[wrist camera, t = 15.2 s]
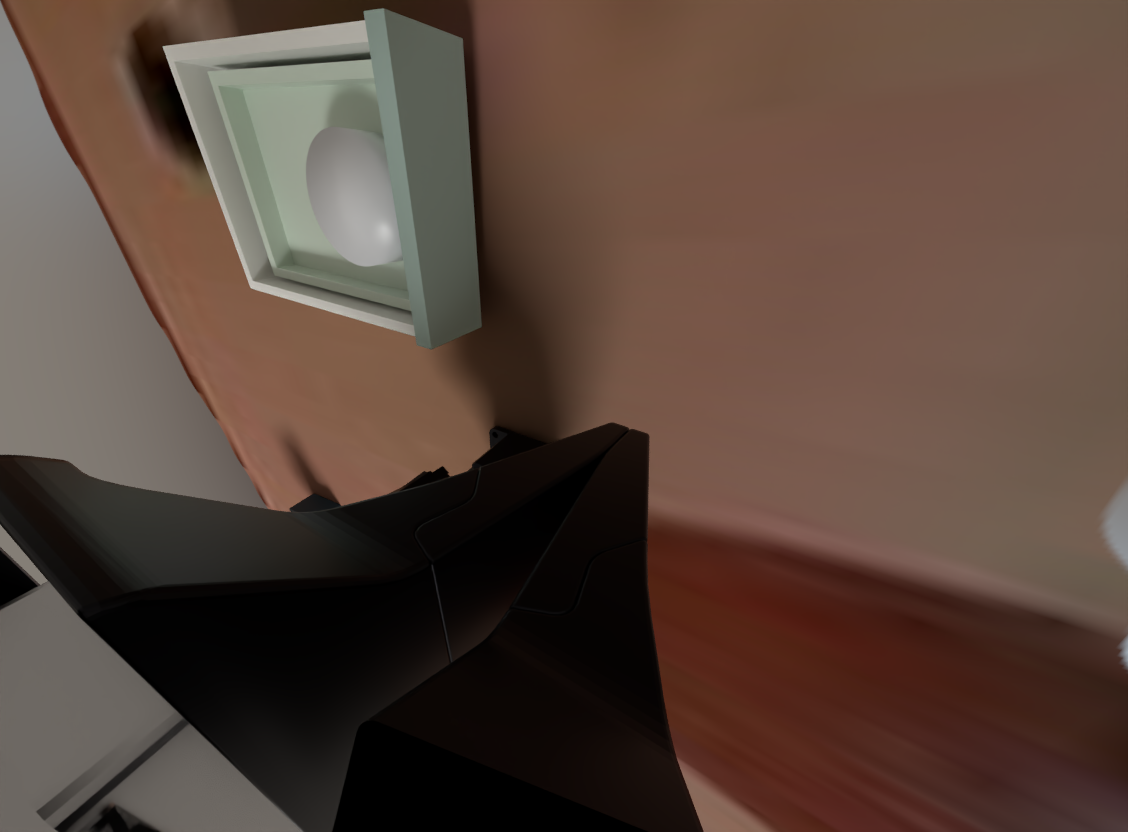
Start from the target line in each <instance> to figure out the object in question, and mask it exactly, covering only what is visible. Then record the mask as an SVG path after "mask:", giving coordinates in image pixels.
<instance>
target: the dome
mask: <svg viewBox="0 0 1128 832" xmlns="http://www.w3.org/2000/svg"><path fill="white" fill-rule="evenodd" d="M306 181H307V189H308V194H309V198H310V202H311V206H312V209H313V212H314V214H315V217H316V219H317V221H318V224H319V226H320V228H321V229H322V231H323V233H324V235H325V236H326V238H327V239H328V241H329V242H330V243H331V245H332V246H333V247H334V248H335V249H336V251H337V252H338V253H339V254H341V255H342V256H343V257H344V258H345V259H347V260H348V261H350V262H352V263H354V264H356V265H359V266H364V267H365V266H375V265H380V264H386V263H392V262H398V261H403V255H402V249H401V243H400V237H399V230H398V224H397V218H396V212H395V205H394V199H393V193H392V187H391V180H390V174H389V168H388V162H387V155H386V149H385V143H384V137H383V135H382V134H380V133H376V132H370V131H363V130H356V129H349V128H341V127H328V128H325V129H323V130H321V131H320V132H319V133H318V134H317V135H316V136H315V138H314V139H313V141H312V143H311V145H310V147H309V151H308V155H307V161H306Z"/></svg>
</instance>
